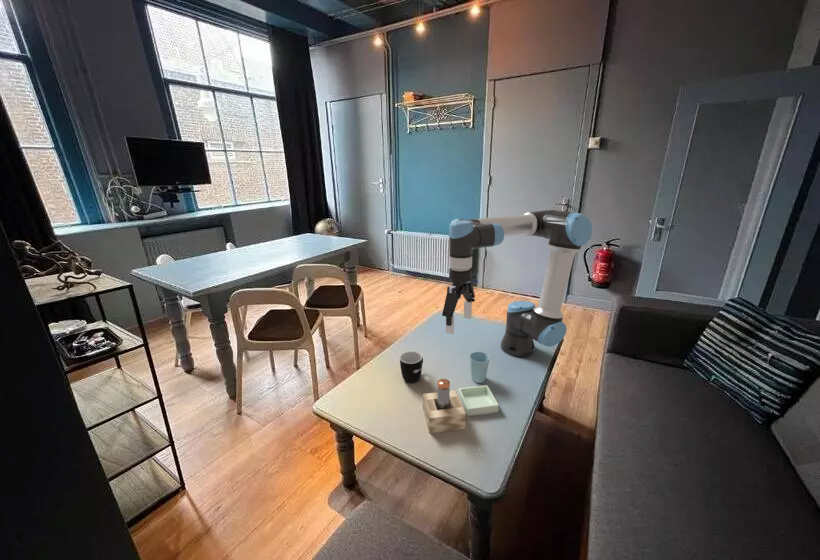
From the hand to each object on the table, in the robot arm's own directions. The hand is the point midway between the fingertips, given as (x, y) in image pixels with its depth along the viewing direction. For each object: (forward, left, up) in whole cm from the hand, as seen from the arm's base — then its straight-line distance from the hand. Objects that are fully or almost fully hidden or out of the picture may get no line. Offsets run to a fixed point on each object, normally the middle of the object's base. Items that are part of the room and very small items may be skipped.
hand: (459, 325), depth 115 cm
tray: (-5, +8, -28) cm, 30 cm away
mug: (+15, -12, -29) cm, 34 cm away
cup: (-11, -6, -29) cm, 31 cm away
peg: (+9, +13, -28) cm, 32 cm away
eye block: (+9, +13, -28) cm, 32 cm away
